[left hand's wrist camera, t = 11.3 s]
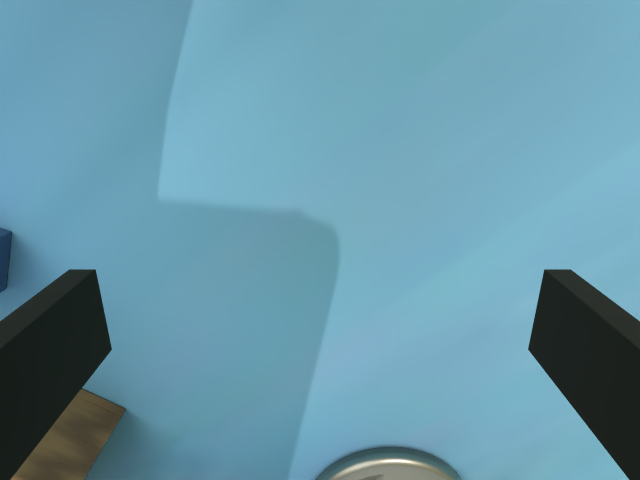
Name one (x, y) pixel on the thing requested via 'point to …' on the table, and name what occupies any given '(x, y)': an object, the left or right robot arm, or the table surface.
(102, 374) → the table surface
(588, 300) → the left robot arm
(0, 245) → the block
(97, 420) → the chest
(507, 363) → the table surface
